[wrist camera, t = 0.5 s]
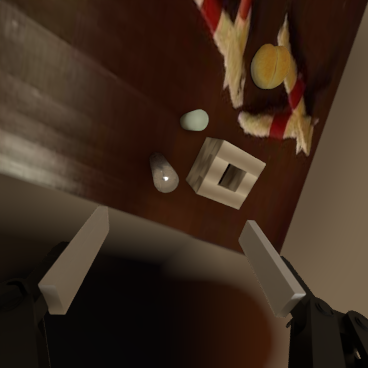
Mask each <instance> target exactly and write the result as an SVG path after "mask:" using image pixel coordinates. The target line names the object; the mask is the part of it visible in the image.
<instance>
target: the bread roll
mask: <svg viewBox="0 0 368 368" xmlns="http://www.w3.org/2000/svg"><path fill="white" fill-rule="evenodd" d="M289 68H290V53H289V52H288V50H287V49H286V48H285V47H284V46H275V47H274V46H273V45H271V44H265V45H263V46H262V47H261V48H260V49H259V50H258V51H257V53H256V54H255V56H254V58H253V60H252V63H251V76H252V79H253V81H254V83H255V84H256V85H257V86H258V87H260V88H262V89H272V88H274V87H276V86H278V85H280V84H281V83H282V82H283V80H284V79H285V77H286V75H287V73H288V71H289Z"/></svg>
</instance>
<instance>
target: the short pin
mask: <svg viewBox="0 0 368 368" xmlns="http://www.w3.org/2000/svg"><path fill="white" fill-rule="evenodd" d="M180 124H181V126H182V128H184V129H185V130H196V131H201V130H203V129H205V128H206V126H207V124H208V115H207V114H206V112H205V111H203V110H195V111H192V112H189V113H186V114H184V115H183V116H182V117H181V119H180Z"/></svg>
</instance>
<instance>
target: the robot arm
mask: <svg viewBox="0 0 368 368" xmlns="http://www.w3.org/2000/svg"><path fill="white" fill-rule="evenodd" d="M108 232H109V221H108V207H107V206H98V207H97V208H96V210H95V211H94V212H93V213H92V215H91V216H90V217H89V219H88V220H87V221H86V223H85V224H84V225H83V227H82V228H81V229H80V230H79V232H78V233H77V234H76V236H75V237H74V238H73V240H72V241H71V242H61V243H59V244H58V245H56V246H55V247H53V248H52V250H51V251H50V252H49V253H48V254H47V256H46V257H45V258H44V259H43V260H42V262H41V263H40V264H39V265H38V266H37V267H36V268H35V269H34V271H33V272H32V273H31V274H30V275H29V276H28V278H27V279H26V280H25V279H22V278H14V279H11V280H8V281H5V282H3V283H1V284H0V368H50V361H49V354H48V347H47V339H46V332H45V325H44V319H43V316H44V314H45V313H46V311H47V310H49V312H50V314H65V313H66V311H67V310H68V308H69V306H70V304H71V302H72V300H73V298H74V296H75V294H76V292H77V290H78V289H79V287H80V285H81V283H82V281H83V279H84V277H85V275H86V274H87V271H88V270H89V268H90V266H91V264H92V262H93V260H94V258H95V256H96V255H97V253H98V251H99V249H100V247H101V245H102V243H103V241H104V239H105V237H106V236H107V233H108ZM238 241H239V243H240V245H241V247H242V249H243V251H244V253H245V255H246V257H247V259H248V261H249V263H250V265H251V267H252V269H253V271H254V274H255V276H256V278H257V280H258V282H259V284H260V286H261V288H262V290H263V292H264V294H265V296H266V298H267V301H268V303H269V305H270V307H271V309H272V311H273V313H274V315H275V317H286V316H287V315H288V314H289V313H291V315H292V317H293V318H292V319H291V320H290V321H289V322H288V323H287V325H286V327H287V328H288V327H289V326H290V325H291V330H290V346H289V362H288V368H368V319H367V318H365V317H364V316H363V315H361V314H360V313H358V312H356V311H348V312H347V313H346V314H344V313H341V312H338V311H336V310H333V309H332V308H331V307H330V306H329V305H328V304H327V303H326V302H324V301H323V300H321V299H319V298H317V297H315V296H314V295H313V293H312V292H311V291H310V289H309V288H308V287H307V285H306V284H305V283H304V281H303V280H302V279H301V277H300V276H299V275H298V273H297V272H296V271H295V270H294V268H293V266H292V265H291V264H290V262H288V261H287V260H286V259H285V258H284V257H283V256H279V255H278V253H277V252H276V250H275V249H274V248H273V246H272V245H271V243H270V242H269V240H268V239H267V238H266V236H265V235H264V233H263V232H262V231H261V229H260V228H259V226H258V225H257V224H256V222H255V221H251V220H247V222H246V224H245V227H244V229H243V231H242V234H241V236H240V238H239V240H238ZM357 351H358V353H359V355H360V357H361V359H359V357H358V356H357V353H356V352H357Z"/></svg>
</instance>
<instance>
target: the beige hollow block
mask: <svg viewBox="0 0 368 368" xmlns="http://www.w3.org/2000/svg"><path fill="white" fill-rule="evenodd" d="M228 164H231V165H230V167H229V169H228V171H227V173H226V174H225V176H224V178H223V180H222V182H221V183H220V184H219V183H218V182H219V180H220V179H221V177H222V175H223V173H224V171H225V169H226V168H227V166H228ZM265 165H266V164H265V163H263V162H262V161H260V160H258V159H256V158H255V157H253V156H251V155H249V154H248V153H246V152H244V151H242V150H241V149H239V148H237V147H235V146H234V145H232V144H230V143H228V142H227V141H225V140H220V139H214V138H208V137H207V138H206V140H205V142H204V144H203V146H202V148H201V150H200V152H199V154H198V156H197V158H196V160H195V162H194V164H193V166H192V168H191V170H190V173H189V175H188V177H187V179H186V181H187V182H188V183H189V185H190V186H191V187H192V188H193V189H194V191H195V192H196V193H197V194H199V195H202V196H205V197H207V198H210V199H213V200H215V201H218V202H221V203H223V204H226V205H229V206H231V207H234V208H237V209H239V208H240V206H241V205H242V203H243V201H244V200H245V198H246V196H247V195H248V193H249V191H250V190H251V188H252V186H253V185H254V183H255V181H256V180H257V178H258V176H259V175H260V173H261V171H262V170H263V168H264V166H265Z"/></svg>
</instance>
